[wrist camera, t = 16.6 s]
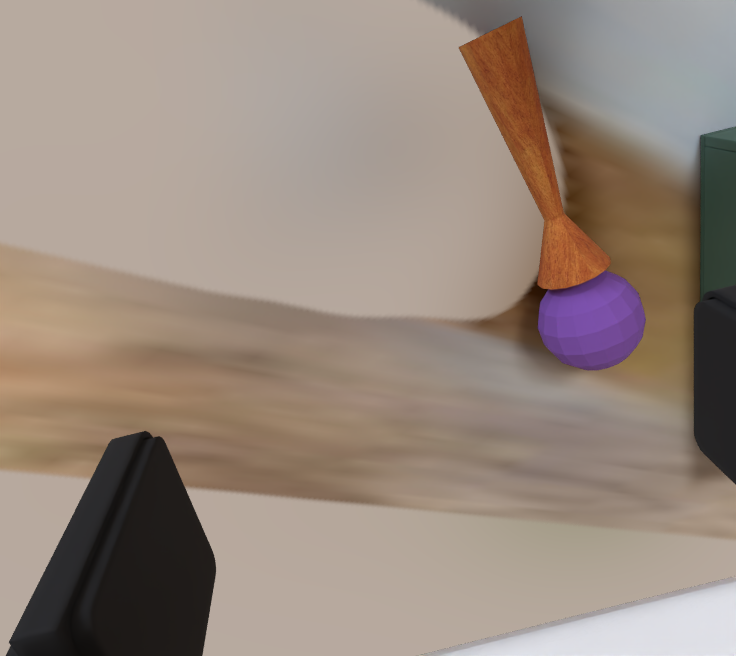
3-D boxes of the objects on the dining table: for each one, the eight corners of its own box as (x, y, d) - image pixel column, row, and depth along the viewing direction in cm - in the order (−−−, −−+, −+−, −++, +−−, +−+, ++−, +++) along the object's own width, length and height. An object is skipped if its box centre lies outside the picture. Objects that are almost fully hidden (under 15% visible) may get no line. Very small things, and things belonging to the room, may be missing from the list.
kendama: (572, -9, 28) (679, 351, 35) (512, 20, 34) (615, 326, 40) (461, 46, 28) (591, 401, 34) (419, 66, 33) (538, 369, 40)
